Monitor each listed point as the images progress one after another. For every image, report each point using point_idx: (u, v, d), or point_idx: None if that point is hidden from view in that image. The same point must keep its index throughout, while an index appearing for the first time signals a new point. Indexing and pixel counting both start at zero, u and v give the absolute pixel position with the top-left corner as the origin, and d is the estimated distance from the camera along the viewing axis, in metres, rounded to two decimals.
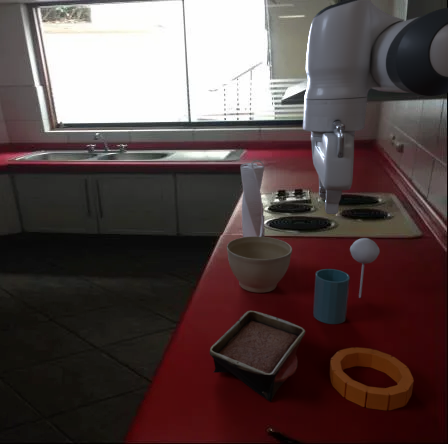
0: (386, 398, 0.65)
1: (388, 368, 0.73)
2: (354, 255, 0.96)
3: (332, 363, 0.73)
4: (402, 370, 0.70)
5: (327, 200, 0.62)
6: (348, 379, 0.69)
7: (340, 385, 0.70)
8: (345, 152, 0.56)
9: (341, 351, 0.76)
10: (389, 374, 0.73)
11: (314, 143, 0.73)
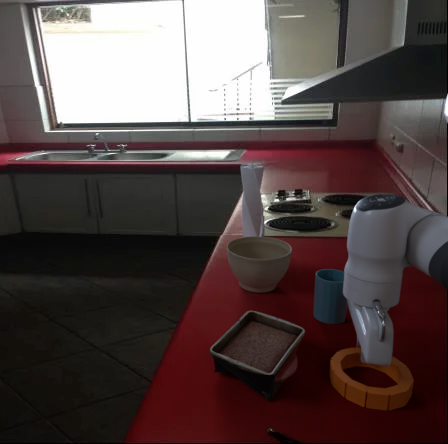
0: (386, 398, 0.65)
1: (388, 368, 0.73)
2: None
3: (332, 363, 0.73)
4: (402, 370, 0.70)
5: (363, 353, 0.74)
6: (348, 379, 0.69)
7: (340, 385, 0.70)
8: (386, 338, 0.65)
9: (341, 351, 0.76)
10: (389, 374, 0.73)
11: None
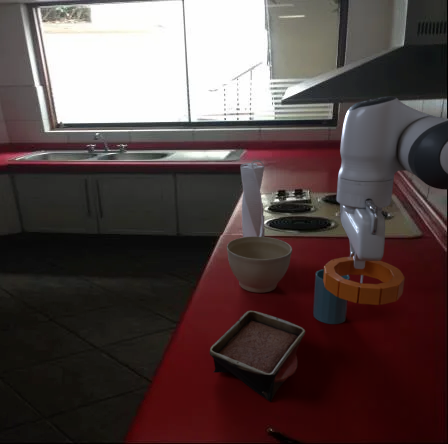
0: (378, 292, 0.67)
1: (380, 273, 0.75)
2: None
3: (326, 268, 0.75)
4: (394, 271, 0.72)
5: (356, 258, 0.75)
6: (341, 279, 0.71)
7: (333, 286, 0.72)
8: (378, 230, 0.66)
9: (335, 260, 0.78)
10: (381, 279, 0.75)
11: (343, 207, 0.83)
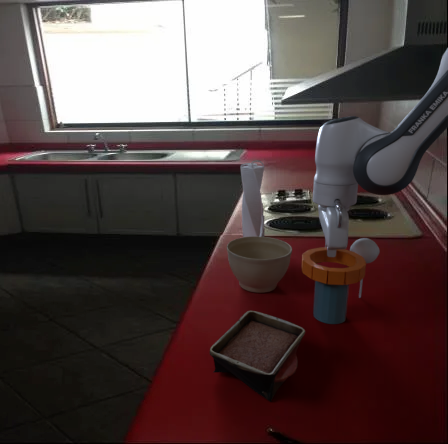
0: (343, 274, 0.83)
1: (348, 260, 0.91)
2: None
3: (303, 256, 0.91)
4: (358, 258, 0.88)
5: (328, 248, 0.91)
6: (314, 264, 0.87)
7: (308, 270, 0.88)
8: (342, 224, 0.82)
9: (311, 249, 0.94)
10: (349, 265, 0.91)
11: None
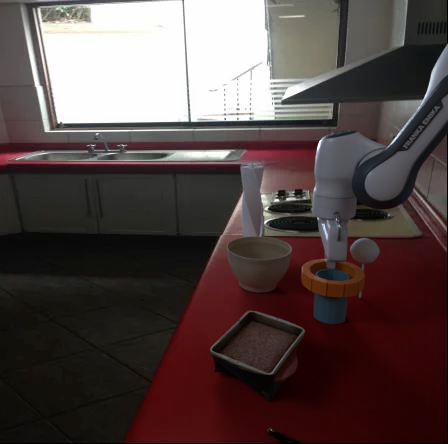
0: (342, 287, 0.84)
1: (347, 272, 0.92)
2: (354, 255, 0.96)
3: (303, 268, 0.92)
4: (357, 270, 0.89)
5: (327, 260, 0.92)
6: (314, 277, 0.88)
7: (308, 282, 0.88)
8: (341, 238, 0.83)
9: (311, 261, 0.95)
10: None
11: None
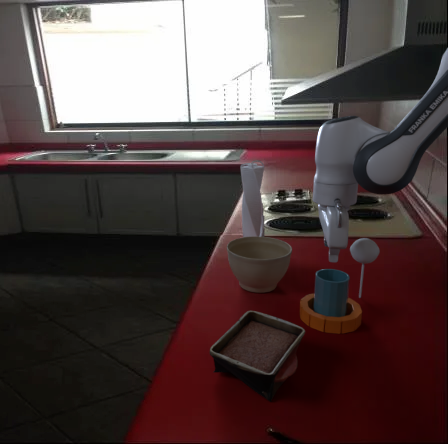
0: (339, 323, 0.86)
1: None
2: (354, 255, 0.96)
3: (301, 302, 0.94)
4: (354, 306, 0.91)
5: (330, 253, 0.89)
6: (312, 312, 0.89)
7: (306, 317, 0.90)
8: (343, 224, 0.82)
9: (309, 295, 0.97)
10: None
11: None
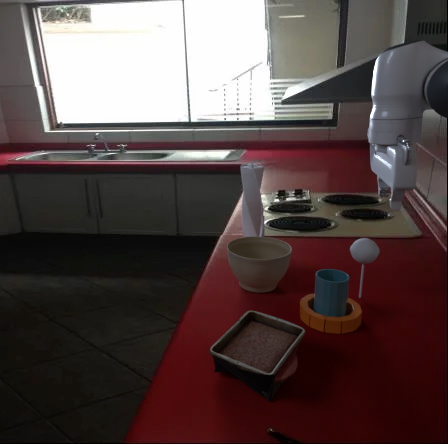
0: (339, 323, 0.86)
1: None
2: (354, 255, 0.96)
3: (301, 302, 0.94)
4: (354, 306, 0.91)
5: (392, 199, 0.79)
6: (312, 312, 0.89)
7: (306, 317, 0.90)
8: (410, 161, 0.72)
9: (309, 295, 0.97)
10: None
11: (373, 152, 0.89)
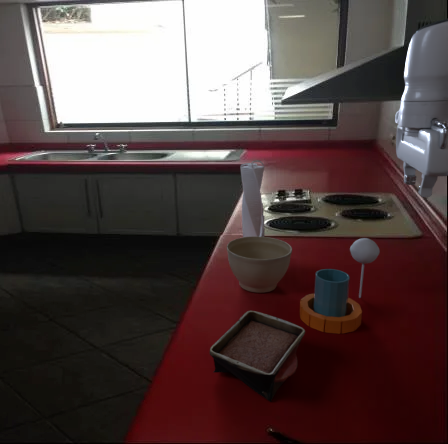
0: (339, 323, 0.86)
1: None
2: (354, 255, 0.96)
3: (301, 302, 0.94)
4: (354, 306, 0.91)
5: (423, 185, 0.75)
6: (312, 312, 0.89)
7: (306, 317, 0.90)
8: (446, 144, 0.69)
9: (309, 295, 0.97)
10: None
11: (400, 138, 0.86)
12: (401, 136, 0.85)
